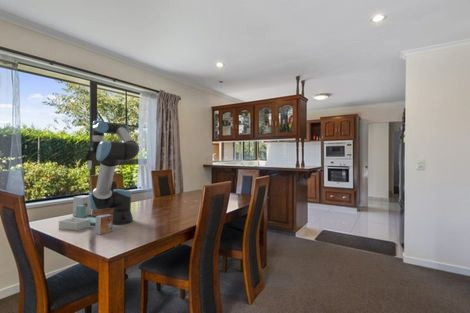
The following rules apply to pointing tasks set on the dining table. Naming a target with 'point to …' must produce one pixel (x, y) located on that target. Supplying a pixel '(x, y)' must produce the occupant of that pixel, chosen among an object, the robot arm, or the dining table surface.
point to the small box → (104, 224)
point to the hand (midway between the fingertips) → (97, 169)
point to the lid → (84, 213)
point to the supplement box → (81, 201)
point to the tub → (74, 224)
